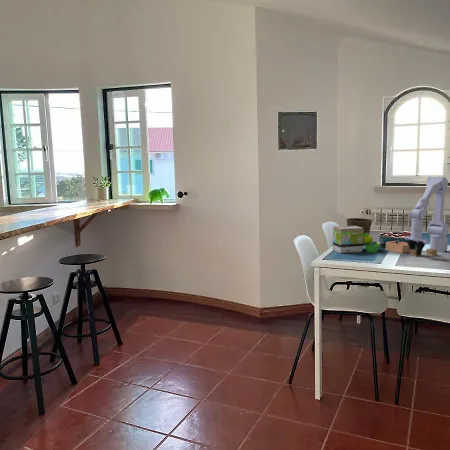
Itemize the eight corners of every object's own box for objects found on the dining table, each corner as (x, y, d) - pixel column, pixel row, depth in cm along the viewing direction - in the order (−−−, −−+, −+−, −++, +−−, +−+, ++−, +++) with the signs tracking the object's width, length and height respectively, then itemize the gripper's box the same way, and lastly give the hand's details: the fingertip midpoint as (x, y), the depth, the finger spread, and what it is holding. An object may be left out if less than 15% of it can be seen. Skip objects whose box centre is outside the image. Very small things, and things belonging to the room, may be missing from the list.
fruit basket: (379, 253, 269) (379, 234, 268) (363, 253, 271) (363, 234, 269) (376, 249, 280) (377, 231, 279) (361, 249, 282) (362, 231, 281)
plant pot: (368, 242, 306) (369, 217, 303) (374, 246, 290) (375, 221, 287) (343, 241, 307) (344, 217, 305) (347, 246, 291) (348, 221, 289)
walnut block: (415, 255, 263) (415, 248, 262) (421, 256, 259) (421, 249, 259) (410, 256, 261) (410, 249, 261) (415, 257, 258) (416, 250, 257)
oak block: (431, 255, 264) (431, 248, 263) (437, 256, 260) (437, 249, 260) (426, 255, 262) (426, 248, 262) (431, 257, 259) (432, 250, 258)
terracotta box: (397, 248, 281) (397, 240, 281) (413, 252, 270) (414, 244, 269) (385, 249, 278) (385, 242, 277) (402, 253, 266) (402, 245, 265)
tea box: (340, 253, 271) (341, 228, 269) (332, 250, 281) (332, 226, 278) (363, 251, 275) (364, 227, 273) (354, 248, 285) (355, 225, 282)
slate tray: (398, 248, 283) (398, 247, 283) (420, 253, 268) (421, 252, 268) (383, 250, 278) (383, 249, 278) (405, 255, 263) (405, 254, 263)
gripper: (401, 229, 263) (400, 252, 265) (421, 232, 250) (420, 257, 252) (410, 228, 266) (409, 251, 268) (431, 231, 253) (430, 256, 255)
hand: (415, 254), depth 260 cm, fingers closed on walnut block, 4 cm apart
